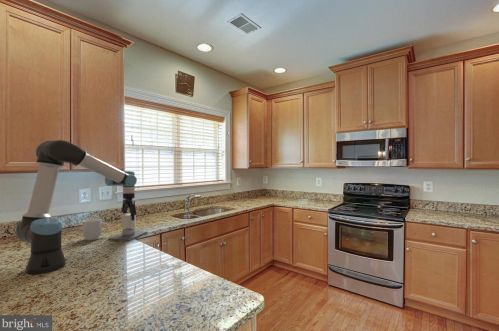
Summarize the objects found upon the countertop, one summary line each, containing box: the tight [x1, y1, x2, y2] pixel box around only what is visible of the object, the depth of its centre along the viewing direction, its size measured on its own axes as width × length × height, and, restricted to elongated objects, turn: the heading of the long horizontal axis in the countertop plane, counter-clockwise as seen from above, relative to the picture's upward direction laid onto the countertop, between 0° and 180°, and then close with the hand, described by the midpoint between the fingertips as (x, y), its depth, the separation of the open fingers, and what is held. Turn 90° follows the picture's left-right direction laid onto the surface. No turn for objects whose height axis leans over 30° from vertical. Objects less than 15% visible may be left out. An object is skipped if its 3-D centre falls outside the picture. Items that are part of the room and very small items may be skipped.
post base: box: [107, 227, 148, 242], centre depth 174 cm, size 20×16×10 cm
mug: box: [82, 218, 109, 242], centre depth 168 cm, size 15×11×13 cm
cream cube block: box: [120, 212, 137, 229], centre depth 174 cm, size 8×8×8 cm
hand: (128, 223), depth 174 cm, fingers closed on cream cube block, 11 cm apart
